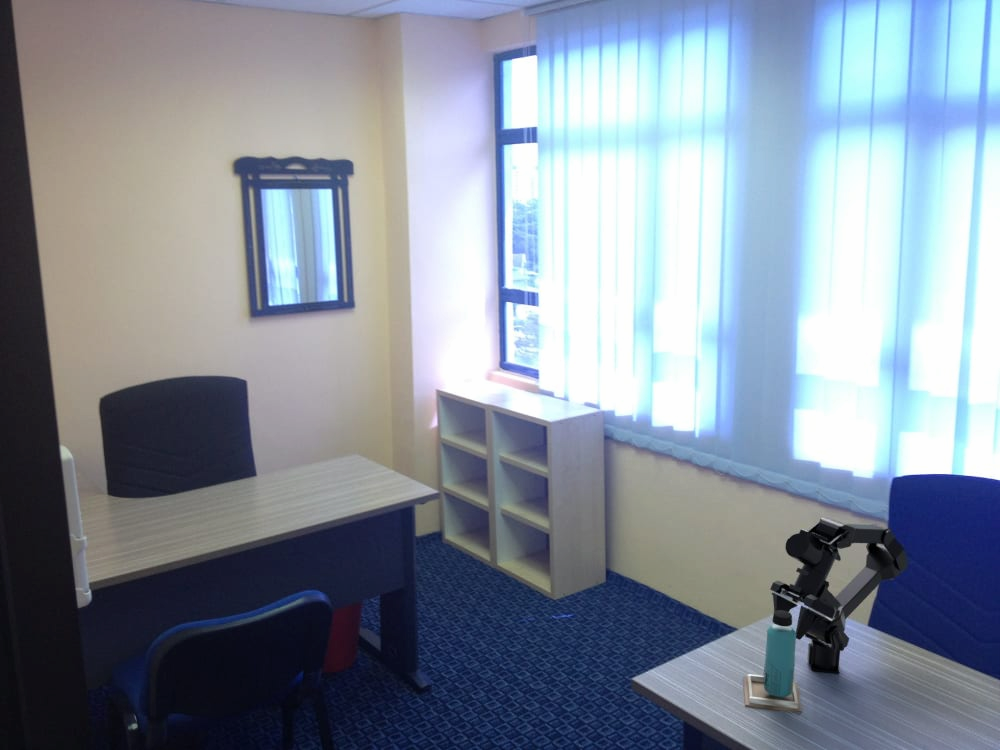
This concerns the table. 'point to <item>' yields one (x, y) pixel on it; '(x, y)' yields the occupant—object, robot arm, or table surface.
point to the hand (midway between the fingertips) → (786, 633)
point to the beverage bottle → (780, 655)
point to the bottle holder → (769, 696)
